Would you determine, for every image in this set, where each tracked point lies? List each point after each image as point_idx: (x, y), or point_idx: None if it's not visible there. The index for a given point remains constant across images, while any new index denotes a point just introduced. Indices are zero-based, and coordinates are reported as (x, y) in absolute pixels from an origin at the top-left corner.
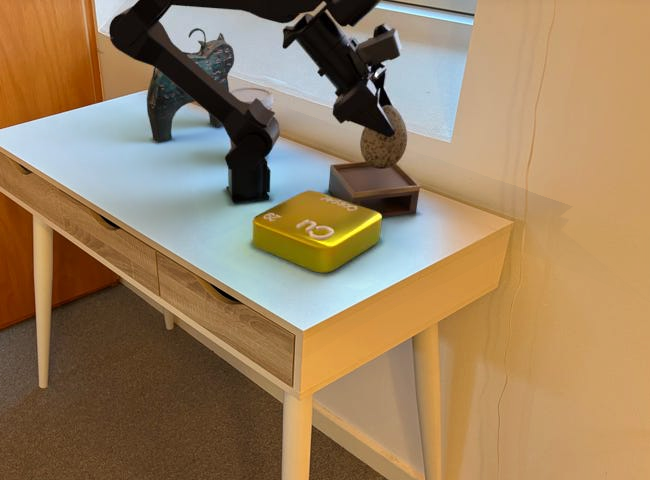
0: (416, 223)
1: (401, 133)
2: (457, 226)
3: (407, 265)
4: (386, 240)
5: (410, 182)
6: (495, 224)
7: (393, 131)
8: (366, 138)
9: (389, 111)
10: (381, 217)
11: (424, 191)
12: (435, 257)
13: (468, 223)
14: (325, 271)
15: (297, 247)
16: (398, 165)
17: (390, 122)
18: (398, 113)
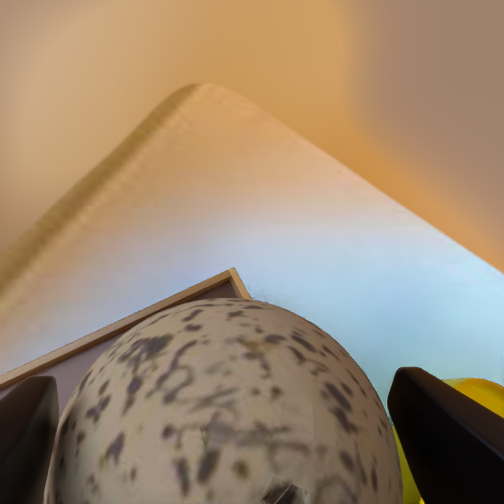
0: (282, 289)
1: (317, 326)
2: (271, 187)
3: (500, 298)
4: (406, 361)
5: (172, 306)
6: (236, 106)
7: (434, 377)
8: None
9: (363, 464)
10: (476, 378)
11: (35, 275)
12: (441, 239)
13: (246, 162)
14: None
15: None
16: (22, 369)
17: (383, 421)
18: (271, 361)
